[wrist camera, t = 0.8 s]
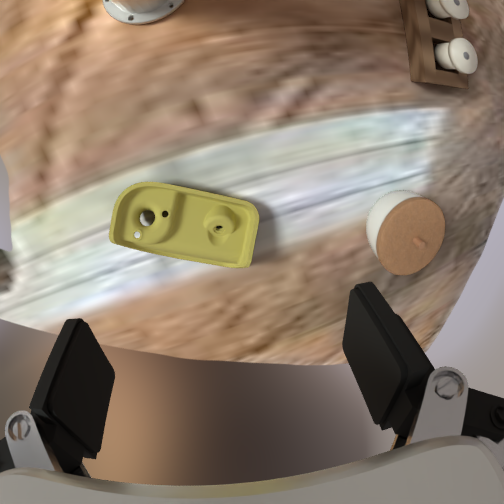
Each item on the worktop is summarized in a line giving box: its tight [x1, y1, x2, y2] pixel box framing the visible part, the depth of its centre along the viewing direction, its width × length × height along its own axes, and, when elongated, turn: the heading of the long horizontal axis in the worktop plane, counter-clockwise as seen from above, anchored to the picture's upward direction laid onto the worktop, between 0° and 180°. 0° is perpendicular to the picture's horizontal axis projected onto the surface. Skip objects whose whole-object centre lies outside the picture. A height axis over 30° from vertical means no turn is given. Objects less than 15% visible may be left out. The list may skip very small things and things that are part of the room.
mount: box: [399, 0, 469, 89], centre depth 28 cm, size 28×10×4 cm, turn 7°
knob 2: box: [434, 38, 478, 74], centre depth 28 cm, size 6×6×5 cm
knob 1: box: [425, 0, 469, 19], centre depth 24 cm, size 6×6×5 cm
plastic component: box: [109, 182, 259, 268], centre depth 42 cm, size 20×7×10 cm
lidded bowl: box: [366, 190, 445, 275], centre depth 42 cm, size 13×13×11 cm
